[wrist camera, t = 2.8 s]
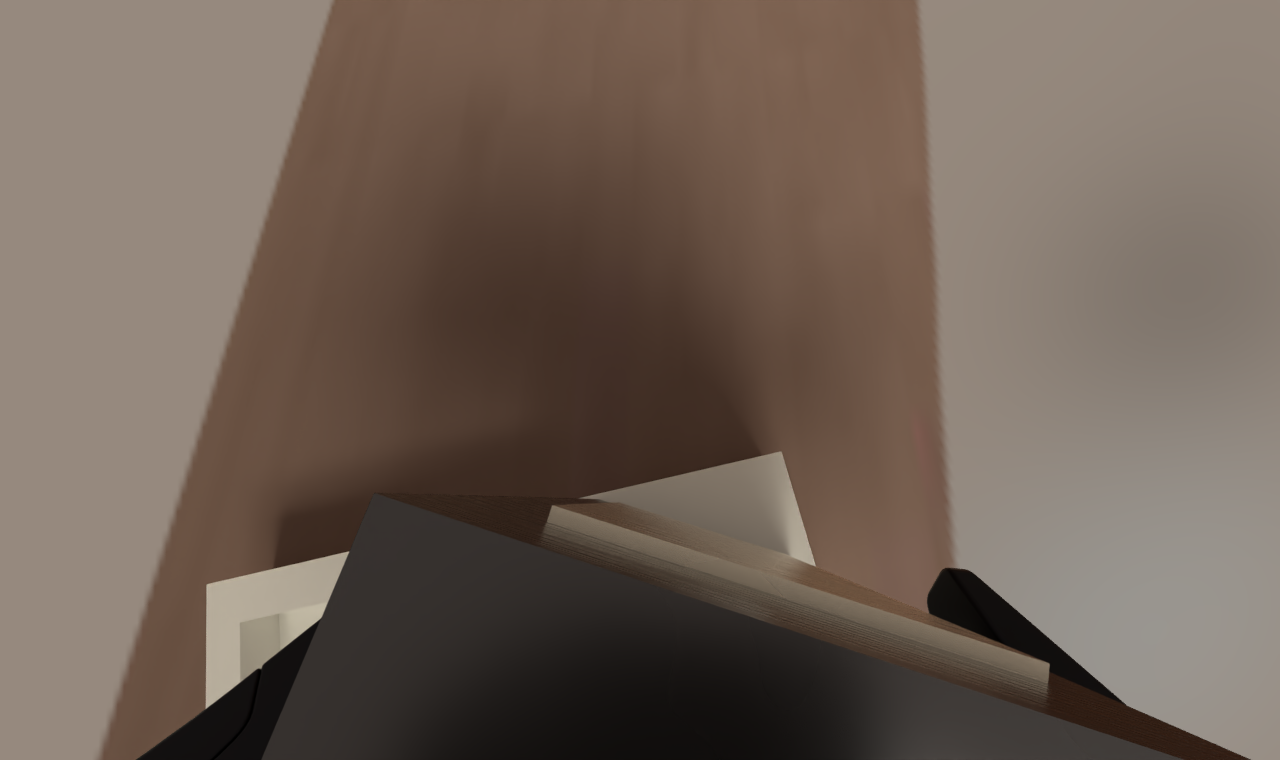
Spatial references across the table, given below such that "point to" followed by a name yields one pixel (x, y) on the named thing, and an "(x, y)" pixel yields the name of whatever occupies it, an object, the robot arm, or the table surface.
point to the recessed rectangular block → (710, 498)
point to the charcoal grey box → (658, 653)
